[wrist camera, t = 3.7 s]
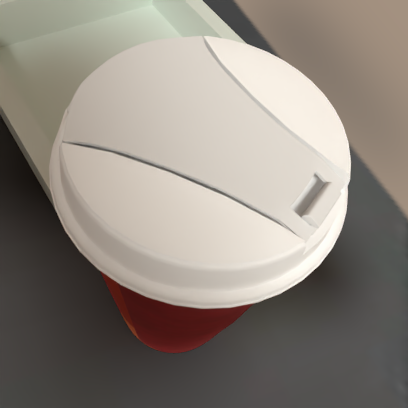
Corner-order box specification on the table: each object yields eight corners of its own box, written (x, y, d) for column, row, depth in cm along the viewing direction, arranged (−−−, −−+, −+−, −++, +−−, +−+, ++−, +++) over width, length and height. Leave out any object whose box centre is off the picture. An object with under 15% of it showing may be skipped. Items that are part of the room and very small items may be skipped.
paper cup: (269, 289, 22) (418, 122, 10) (186, 411, 18) (263, 383, 6) (163, 211, 23) (180, -14, 11) (68, 309, 20) (-51, 130, 8)
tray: (-33, 58, 28) (-58, 6, 24) (156, 4, 34) (157, -44, 30) (64, 226, 22) (49, 189, 19) (270, 125, 28) (287, 84, 25)
